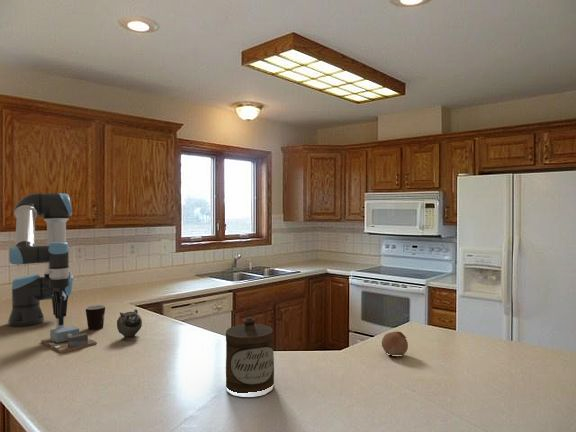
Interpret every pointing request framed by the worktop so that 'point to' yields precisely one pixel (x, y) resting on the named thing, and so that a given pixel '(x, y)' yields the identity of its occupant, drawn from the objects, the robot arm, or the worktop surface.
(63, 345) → the base
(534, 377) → the worktop surface
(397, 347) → the brown round lump
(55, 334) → the block
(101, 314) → the coffee mug
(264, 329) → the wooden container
